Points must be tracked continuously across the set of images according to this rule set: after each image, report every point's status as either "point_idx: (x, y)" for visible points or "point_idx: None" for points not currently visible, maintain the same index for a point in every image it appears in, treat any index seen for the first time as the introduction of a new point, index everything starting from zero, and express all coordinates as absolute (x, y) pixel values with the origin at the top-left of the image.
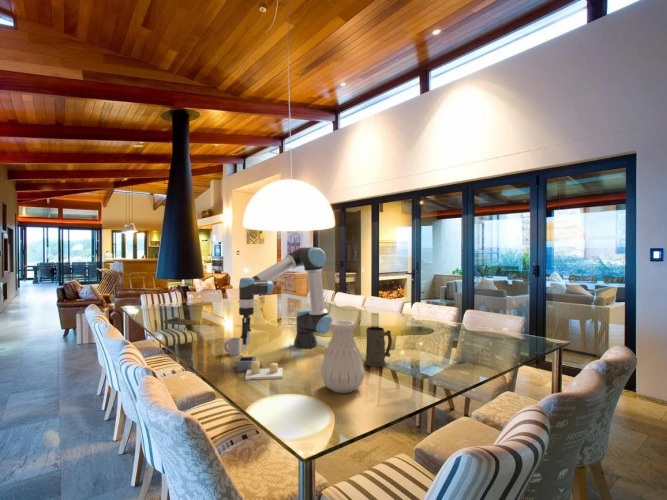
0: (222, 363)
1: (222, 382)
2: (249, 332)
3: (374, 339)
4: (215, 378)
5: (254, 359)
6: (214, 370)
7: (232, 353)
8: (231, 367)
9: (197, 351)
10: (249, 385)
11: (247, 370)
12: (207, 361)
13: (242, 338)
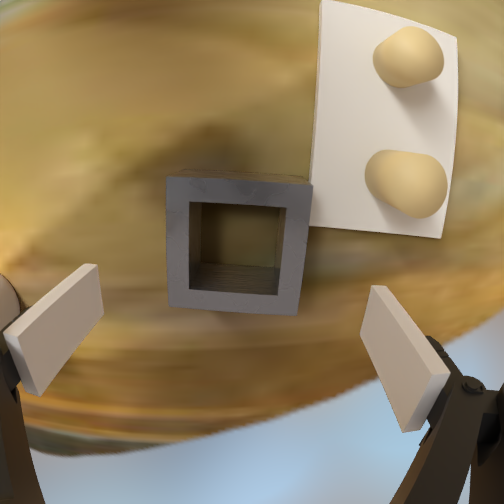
0: (129, 355)
1: None
2: (21, 335)
3: None
4: (357, 368)
5: (259, 184)
6: (237, 384)
7: (14, 313)
8: (201, 315)
9: None
10: (493, 214)
11: (329, 225)
12: (105, 404)
13: (419, 421)
